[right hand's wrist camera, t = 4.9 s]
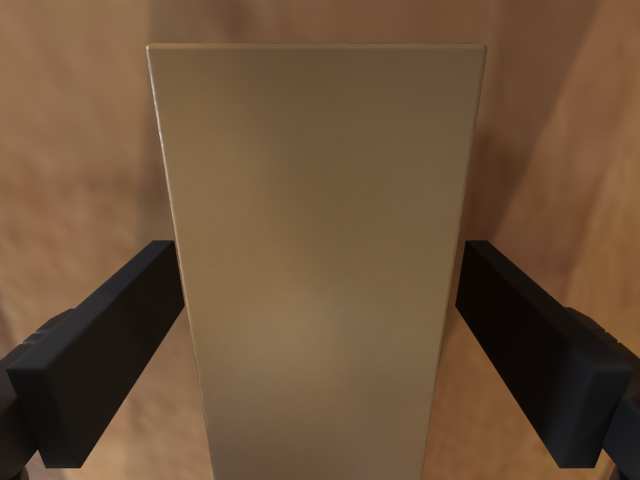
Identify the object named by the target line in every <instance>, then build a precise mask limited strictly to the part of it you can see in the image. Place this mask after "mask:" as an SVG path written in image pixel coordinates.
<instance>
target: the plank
mask: <svg viewBox="0 0 640 480" xmlns="http://www.w3.org/2000/svg"><path fill="white" fill-rule="evenodd" d="M486 53H487V46H486V45H484V44H482V43H151V44H149V45H147V46H146V55H147V61H148V67H149V74H150V80H151V86H152V92H153V99H154V105H155V111H156V118H157V124H158V130H159V136H160V143H161V149H162V155H163V161H164V168H165V174H166V180H167V186H168V193H169V199H170V205H171V212H172V218H173V224H174V230H175V237H176V243H177V249H178V255H179V262H180V268H181V274H182V281H183V287H184V293H185V299H186V306H187V312H188V318H189V324H190V331H191V337H192V343H193V350H194V356H195V362H196V368H197V375H198V381H199V387H200V393H201V400H202V406H203V412H204V418H205V425H206V431H207V437H208V444H209V450H210V456H211V462H212V469H213V475H214V480H421V479H422V472H423V466H424V459H425V453H426V446H427V440H428V433H429V427H430V420H431V413H432V407H433V400H434V394H435V387H436V381H437V374H438V368H439V361H440V355H441V348H442V341H443V335H444V328H445V322H446V315H447V309H448V302H449V296H450V289H451V283H452V276H453V269H454V263H455V256H456V250H457V243H458V237H459V230H460V224H461V217H462V211H463V204H464V197H465V191H466V184H467V178H468V171H469V165H470V158H471V152H472V145H473V139H474V132H475V125H476V119H477V112H478V106H479V99H480V93H481V86H482V80H483V73H484V67H485V60H486Z"/></svg>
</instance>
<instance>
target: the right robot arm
mask: <svg viewBox="0 0 640 480" xmlns="http://www.w3.org/2000/svg"><path fill="white" fill-rule="evenodd" d="M184 306H185V305H184V298H183V292H182V286H181V280H180V274H179V267H178V261H177V255H176V249H175V243H174V240H153V241H152V242H151V243H150V244H148V245H147V246H146V247H145V248H144V249H143V250H142V251H140V252H139V253H138V254H137V255H136V256H135V257H134V258H132V259H131V260H130V261H129V262H128V263H127V264H125V265H124V266H123V267H122V268H121V269H120V270H119V271H117V272H116V273H115V274H114V275H113V276H112V277H111V278H109V279H108V280H107V281H106V282H105V283H104V284H102V285H101V286H100V287H99V288H98V289H97V290H96V291H94V292H93V293H92V294H91V295H90V296H89V297H88V298H86V299H85V300H84V301H83V302H82V303H81V304H79V305H78V306H77V307H76V308H75V309H68V310H67V311H65V312H63V313H61V314H59V315H57V316H55V317H53V318H51V319H50V320H49V321H47V322H46V323H45V324H44V325H42V326H41V327H40V328H39V329H38V330H36V333H35V334H32V335H30V336H29V337H28V338H27V339H26V340H24V341H23V344H20V345H18V346H17V347H16V348H15V349H14V350H12V351H11V352H10V353H9V354H8V355H6V356H5V357H4V358H3V359H2V360H0V480H29V476H28V472H27V469H26V467H25V465H26V464H27V462H28V461H29V460H30V459H31V457H32V456H33V455H34V453H35V452H36V451H37V450H39V453H40V455H41V458H42V460H43V463H44V465H45V468H81V467H82V465H83V463H84V462H85V460H86V459H87V457H88V456H89V454H90V453H91V451H92V449H93V448H94V446H95V445H96V443H97V442H98V440H99V439H100V437H101V435H102V434H103V432H104V431H105V429H106V428H107V426H108V425H109V423H110V421H111V420H112V418H113V417H114V415H115V414H116V412H117V411H118V409H119V407H120V406H121V404H122V403H123V401H124V400H125V398H126V397H127V395H128V393H129V392H130V390H131V389H132V387H133V386H134V384H135V383H136V381H137V379H138V378H139V376H140V375H141V373H142V372H143V370H144V369H145V367H146V365H147V364H148V362H149V361H150V359H151V358H152V356H153V354H154V353H155V351H156V350H157V348H158V347H159V345H160V344H161V342H162V340H163V339H164V337H165V336H166V334H167V333H168V331H169V330H170V328H171V326H172V325H173V323H174V322H175V320H176V319H177V317H178V316H179V314H180V312H181V311H182V309H183V308H184ZM455 306H456V308H457V309H458V311H459V312H460V314H461V316H462V317H463V319H464V320H465V322H466V323H467V325H468V326H469V328H470V330H471V331H472V333H473V334H474V336H475V337H476V339H477V340H478V342H479V344H480V345H481V347H482V348H483V350H484V351H485V353H486V354H487V356H488V358H489V359H490V361H491V362H492V364H493V365H494V367H495V368H496V370H497V372H498V373H499V375H500V376H501V378H502V379H503V381H504V383H505V384H506V386H507V387H508V389H509V390H510V392H511V393H512V395H513V397H514V398H515V400H516V401H517V403H518V404H519V406H520V407H521V409H522V411H523V412H524V414H525V415H526V417H527V418H528V420H529V421H530V423H531V425H532V426H533V428H534V429H535V431H536V432H537V434H538V435H539V437H540V439H541V440H542V442H543V443H544V445H545V446H546V448H547V449H548V451H549V453H550V454H551V456H552V457H553V459H554V460H555V462H556V463H557V465H558V467H559V468H595V465H596V463H597V460H598V458H599V455H600V453H601V450H602V448H603V449H604V450H605V451H606V453H607V454H608V455H609V456H610V458H611V459H612V460H613V461H614V463H615V464H616V465H615V467H614V469H613V472H612V474H611V476H610V478H609V480H640V358H638V357H637V356H636V355H635V354H634V353H632V352H631V351H630V350H629V349H627V348H626V347H625V346H624V345H623V344H621V343H618V342H617V339H615V338H614V337H613V336H612V335H610V334H609V333H608V332H605V330H604V329H603V328H602V327H601V326H600V325H598V324H597V323H596V322H595V321H593V320H592V319H591V318H590V317H588V316H586V315H584V314H582V313H580V312H578V311H576V310H574V309H572V308H571V307H563V306H562V305H561V304H559V303H558V302H557V301H556V300H555V299H554V298H553V297H551V296H550V295H549V294H548V293H547V292H546V291H544V290H543V289H542V288H541V287H540V286H539V285H538V284H536V283H535V282H534V281H533V280H532V279H531V278H530V277H528V276H527V275H526V274H525V273H524V272H523V271H521V270H520V269H519V268H518V267H517V266H516V265H515V264H513V263H512V262H511V261H510V260H509V259H508V258H507V257H505V256H504V255H503V254H502V253H501V252H500V251H498V250H497V249H496V248H495V247H494V246H493V245H492V244H490V243H489V242H488V241H487V240H466V243H465V249H464V255H463V261H462V267H461V274H460V280H459V286H458V292H457V298H456V305H455Z"/></svg>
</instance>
